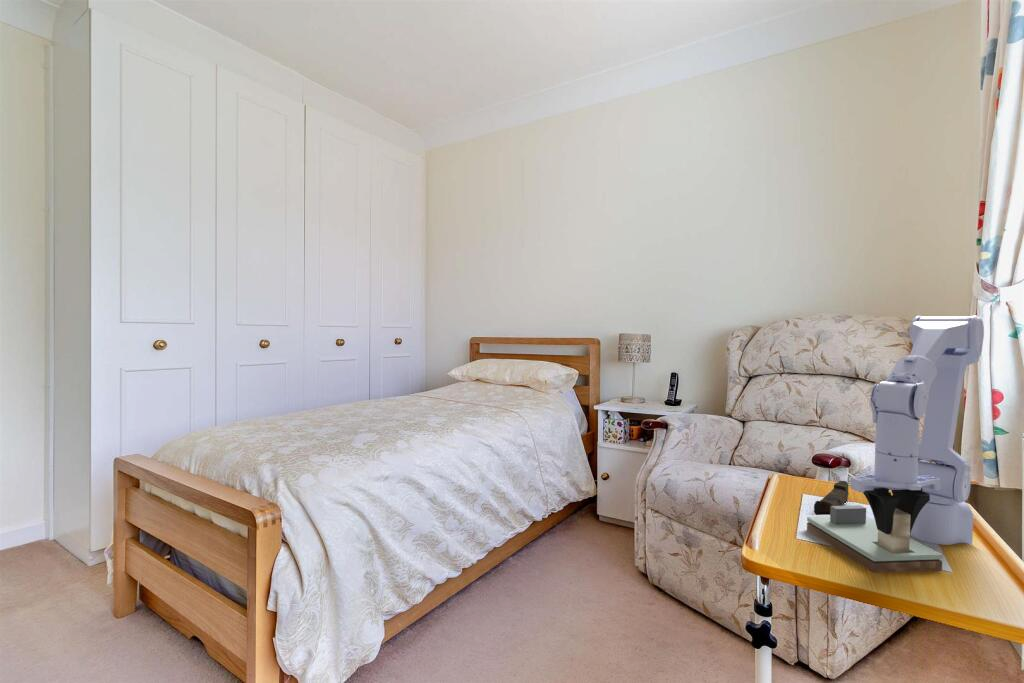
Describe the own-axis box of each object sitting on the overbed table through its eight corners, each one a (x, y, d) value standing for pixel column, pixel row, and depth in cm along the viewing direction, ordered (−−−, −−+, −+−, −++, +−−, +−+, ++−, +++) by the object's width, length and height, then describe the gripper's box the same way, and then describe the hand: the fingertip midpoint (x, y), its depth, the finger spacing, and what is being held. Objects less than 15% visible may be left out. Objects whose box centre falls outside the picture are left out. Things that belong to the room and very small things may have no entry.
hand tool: (834, 522, 102) (835, 501, 102) (813, 516, 105) (813, 495, 105) (858, 501, 115) (859, 482, 114) (839, 496, 118) (840, 477, 117)
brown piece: (864, 535, 95) (864, 520, 95) (941, 578, 79) (942, 560, 79) (806, 537, 94) (807, 522, 94) (873, 581, 78) (874, 563, 78)
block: (893, 547, 83) (895, 507, 83) (909, 555, 80) (910, 514, 80) (877, 547, 83) (878, 508, 83) (892, 556, 80) (893, 515, 80)
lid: (864, 519, 95) (865, 500, 95) (942, 559, 79) (943, 536, 79) (807, 520, 94) (807, 501, 94) (874, 561, 78) (874, 538, 78)
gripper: (875, 460, 77) (872, 543, 77) (959, 458, 78) (956, 540, 78) (842, 448, 84) (839, 524, 84) (919, 447, 85) (917, 522, 85)
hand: (893, 531), depth 82 cm, fingers closed on block, 3 cm apart
